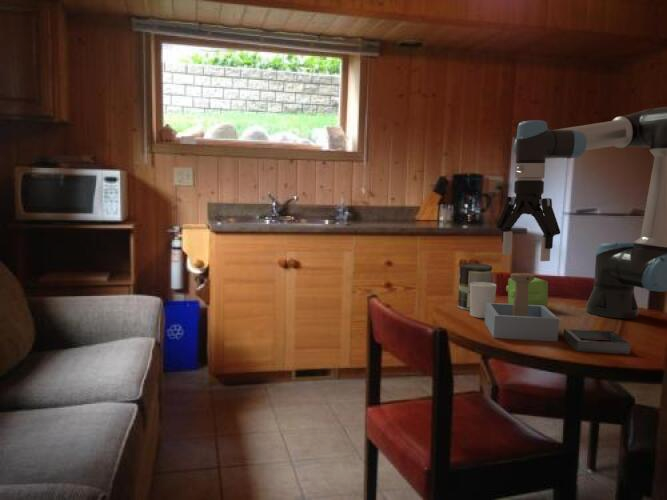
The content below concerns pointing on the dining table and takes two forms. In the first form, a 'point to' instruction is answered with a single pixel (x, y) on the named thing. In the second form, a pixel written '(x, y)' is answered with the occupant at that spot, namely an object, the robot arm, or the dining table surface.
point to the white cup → (481, 297)
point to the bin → (521, 323)
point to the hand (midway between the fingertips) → (525, 257)
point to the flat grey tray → (613, 346)
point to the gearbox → (531, 292)
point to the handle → (521, 293)
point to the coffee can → (468, 275)
